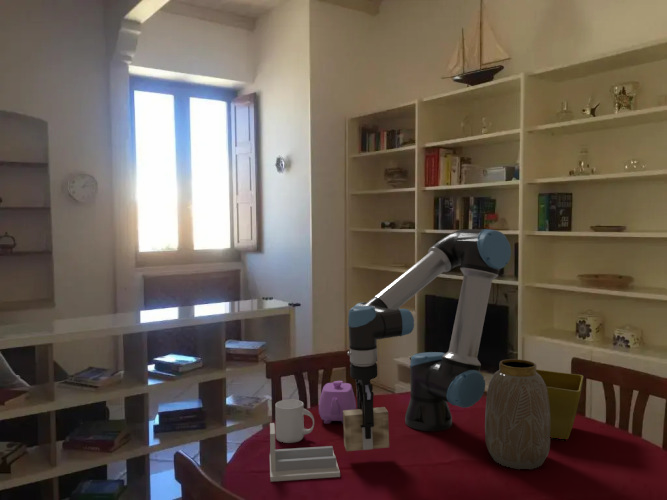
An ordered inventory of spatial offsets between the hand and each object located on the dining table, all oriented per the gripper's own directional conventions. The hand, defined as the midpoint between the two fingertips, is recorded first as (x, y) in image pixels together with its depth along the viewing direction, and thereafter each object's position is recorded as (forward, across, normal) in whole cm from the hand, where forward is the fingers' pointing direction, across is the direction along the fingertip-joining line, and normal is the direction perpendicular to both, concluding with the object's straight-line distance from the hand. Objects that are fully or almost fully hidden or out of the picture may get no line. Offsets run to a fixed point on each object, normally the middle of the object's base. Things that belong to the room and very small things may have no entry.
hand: (366, 445), depth 153 cm
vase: (+5, +6, +41) cm, 42 cm away
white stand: (+4, +2, -18) cm, 18 cm away
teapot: (+5, -32, -4) cm, 32 cm away
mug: (+4, -18, -19) cm, 26 cm away
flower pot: (+6, -12, +60) cm, 62 cm away
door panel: (0, 0, 0) cm, 0 cm away
